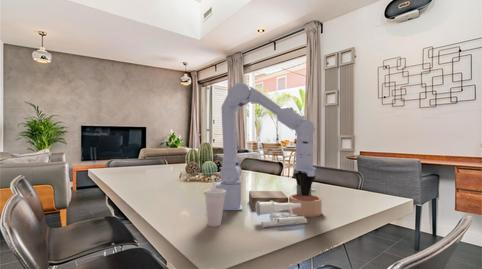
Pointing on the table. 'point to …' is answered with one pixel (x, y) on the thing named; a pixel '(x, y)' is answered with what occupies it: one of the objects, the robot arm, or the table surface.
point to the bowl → (307, 205)
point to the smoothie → (214, 204)
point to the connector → (300, 191)
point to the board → (266, 197)
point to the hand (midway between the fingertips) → (303, 194)
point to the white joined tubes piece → (283, 219)
